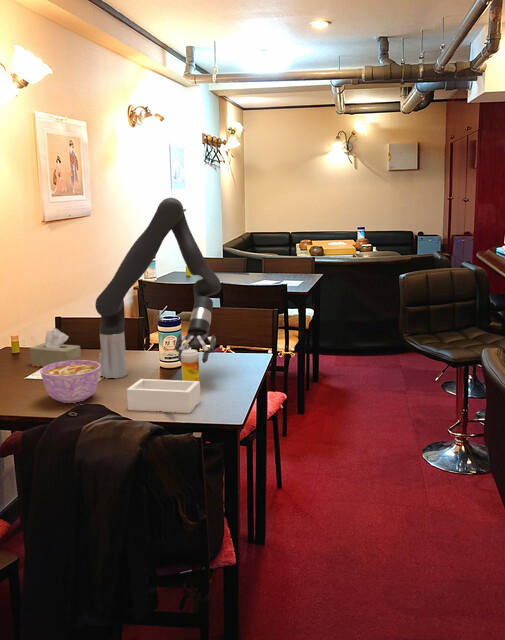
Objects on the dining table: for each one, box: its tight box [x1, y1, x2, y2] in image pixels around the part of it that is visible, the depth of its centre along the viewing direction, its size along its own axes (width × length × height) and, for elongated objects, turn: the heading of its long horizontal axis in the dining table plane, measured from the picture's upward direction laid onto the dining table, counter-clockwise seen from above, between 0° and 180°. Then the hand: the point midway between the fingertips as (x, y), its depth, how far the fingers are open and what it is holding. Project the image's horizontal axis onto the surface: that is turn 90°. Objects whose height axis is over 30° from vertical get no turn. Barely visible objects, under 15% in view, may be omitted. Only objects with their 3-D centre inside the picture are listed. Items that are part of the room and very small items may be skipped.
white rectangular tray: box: [126, 378, 201, 414], centre depth 211 cm, size 21×12×7 cm, turn 78°
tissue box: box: [29, 328, 82, 366], centre depth 263 cm, size 19×10×16 cm, turn 68°
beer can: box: [180, 348, 200, 381], centre depth 224 cm, size 6×6×15 cm
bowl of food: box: [39, 359, 101, 404], centre depth 218 cm, size 20×20×12 cm
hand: (192, 361), depth 225 cm, fingers open, 8 cm apart
